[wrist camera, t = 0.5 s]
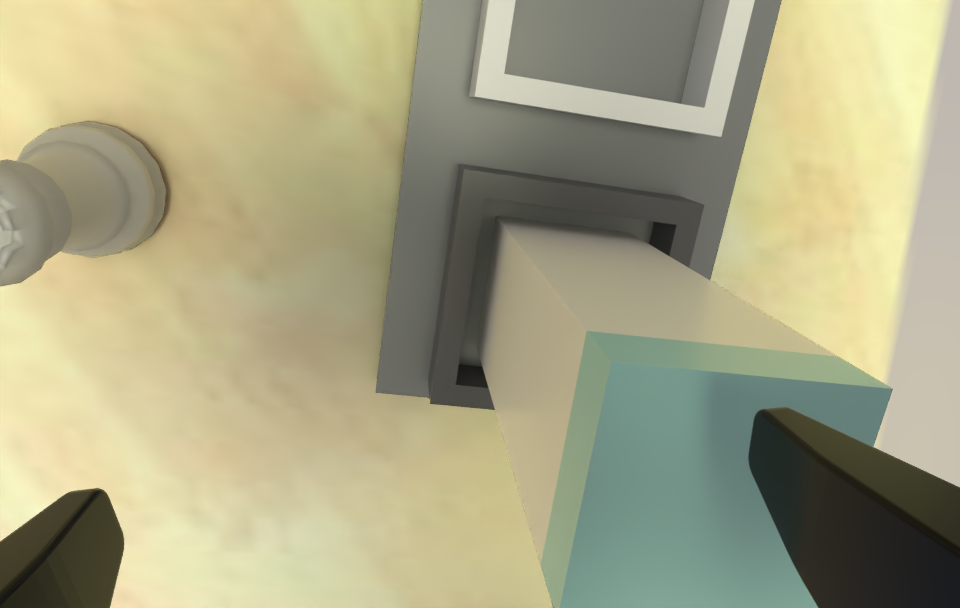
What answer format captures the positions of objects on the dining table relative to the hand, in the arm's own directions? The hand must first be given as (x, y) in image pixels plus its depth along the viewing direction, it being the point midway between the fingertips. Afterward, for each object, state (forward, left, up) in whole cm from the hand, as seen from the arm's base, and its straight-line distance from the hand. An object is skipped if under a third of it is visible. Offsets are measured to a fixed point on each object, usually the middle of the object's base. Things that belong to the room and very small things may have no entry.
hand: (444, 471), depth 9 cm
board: (+2, -6, -16) cm, 18 cm away
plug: (-3, -5, -15) cm, 16 cm away
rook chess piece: (+3, +10, -17) cm, 20 cm away
